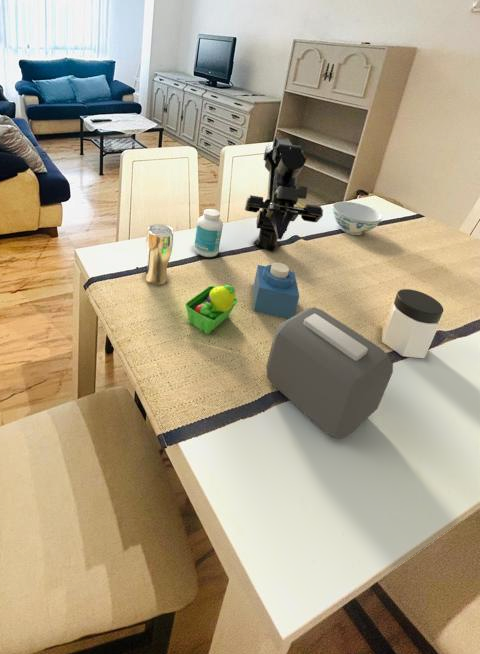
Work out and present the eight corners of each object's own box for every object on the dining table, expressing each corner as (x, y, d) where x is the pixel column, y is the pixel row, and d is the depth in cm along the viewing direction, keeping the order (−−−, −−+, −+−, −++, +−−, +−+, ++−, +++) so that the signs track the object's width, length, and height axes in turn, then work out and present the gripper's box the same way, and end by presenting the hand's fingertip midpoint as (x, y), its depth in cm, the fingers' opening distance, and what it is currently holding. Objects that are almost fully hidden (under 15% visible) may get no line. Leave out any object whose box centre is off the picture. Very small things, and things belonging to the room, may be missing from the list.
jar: (434, 352, 84) (454, 309, 80) (413, 364, 81) (432, 319, 77) (392, 325, 92) (409, 284, 87) (371, 335, 88) (387, 292, 84)
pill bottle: (218, 260, 114) (225, 219, 109) (193, 256, 116) (199, 216, 111) (217, 247, 121) (224, 208, 116) (193, 243, 122) (199, 205, 117)
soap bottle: (253, 286, 103) (259, 258, 100) (288, 294, 101) (296, 265, 98) (253, 310, 94) (260, 280, 91) (293, 319, 92) (301, 289, 89)
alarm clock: (372, 420, 69) (400, 354, 63) (337, 453, 63) (364, 383, 57) (292, 356, 82) (309, 296, 76) (257, 379, 76) (272, 316, 70)
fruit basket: (208, 300, 97) (215, 262, 93) (240, 319, 91) (248, 280, 87) (181, 322, 89) (186, 282, 85) (214, 344, 84) (221, 302, 79)
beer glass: (172, 275, 106) (177, 227, 101) (163, 289, 100) (169, 239, 95) (148, 268, 109) (152, 221, 103) (139, 281, 103) (143, 232, 97)
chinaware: (385, 242, 129) (392, 222, 126) (341, 240, 129) (347, 219, 126) (360, 221, 143) (365, 202, 140) (319, 219, 143) (325, 200, 140)
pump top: (269, 267, 97) (271, 261, 96) (286, 271, 96) (288, 264, 95) (270, 277, 93) (272, 269, 92) (288, 280, 92) (289, 273, 91)
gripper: (253, 167, 102) (246, 223, 96) (330, 178, 97) (328, 237, 91) (248, 184, 112) (241, 235, 106) (318, 194, 107) (314, 249, 101)
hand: (279, 239), depth 101 cm, fingers closed
